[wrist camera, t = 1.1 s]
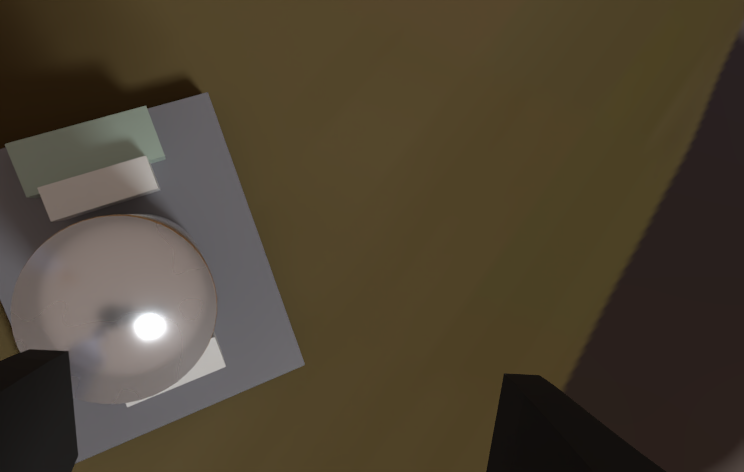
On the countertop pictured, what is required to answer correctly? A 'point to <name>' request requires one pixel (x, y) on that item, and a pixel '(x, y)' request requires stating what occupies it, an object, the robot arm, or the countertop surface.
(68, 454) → the robot arm
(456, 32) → the countertop surface
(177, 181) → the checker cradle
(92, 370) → the battery cell
